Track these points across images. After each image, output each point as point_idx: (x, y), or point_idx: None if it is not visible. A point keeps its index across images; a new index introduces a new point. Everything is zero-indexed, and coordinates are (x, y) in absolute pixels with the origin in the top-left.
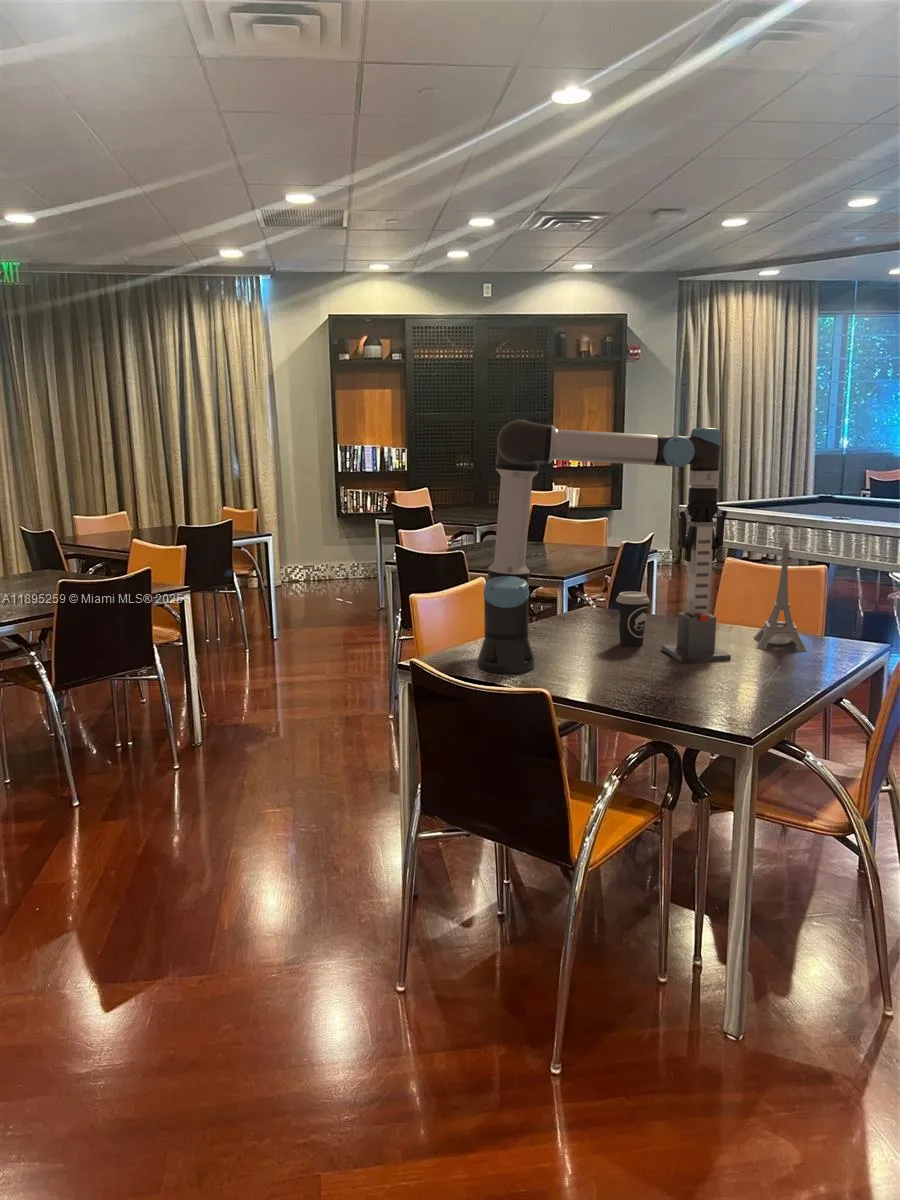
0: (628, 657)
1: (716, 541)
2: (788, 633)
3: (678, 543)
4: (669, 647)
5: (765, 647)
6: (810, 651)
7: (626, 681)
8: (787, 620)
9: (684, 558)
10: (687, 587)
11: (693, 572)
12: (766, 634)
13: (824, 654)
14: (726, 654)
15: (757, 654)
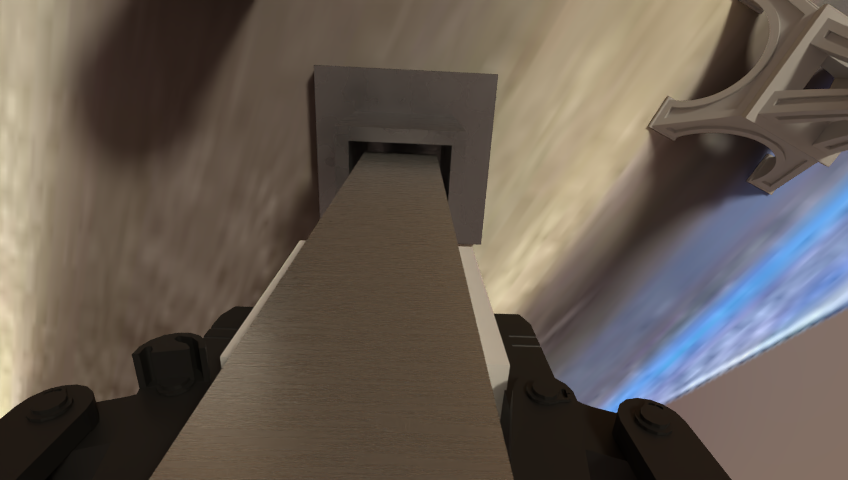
0: (176, 136)
1: (643, 467)
2: (787, 149)
3: (3, 433)
4: (328, 110)
5: (674, 135)
6: (778, 195)
7: (125, 350)
8: (837, 140)
9: (218, 319)
10: (342, 187)
11: None
12: (717, 121)
13: (786, 234)
14: (472, 234)
15: (599, 192)
